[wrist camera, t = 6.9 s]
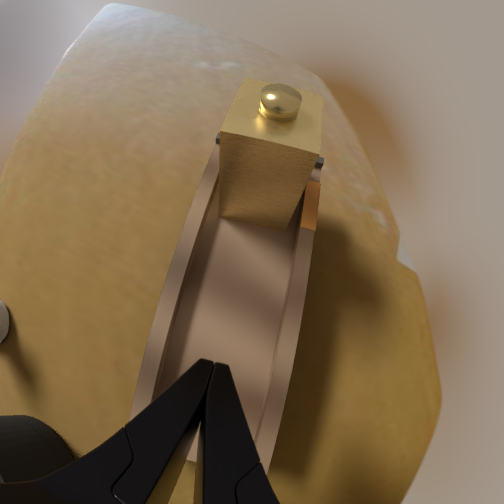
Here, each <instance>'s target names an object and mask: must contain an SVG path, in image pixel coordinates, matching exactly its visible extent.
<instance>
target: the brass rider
mask: <svg viewBox="0 0 504 504" xmlns="http://www.w3.org/2000/svg"><path fill="white" fill-rule="evenodd" d="M323 101H324V96H321V95H318V94H314V93H311V92H307V91H304V90H300V89H296V88H292V87H290V86H287V85H283V84H275V83H270V82H265V81H260V80H255V79H250V78H245V79H244V81H243V83H242V85H241V87H240V89H239V91H238V93H237V95H236V97H235V99H234V101H233V103H232V106H231V108H230V110H229V112H228V114H227V116H226V119H225V121H224V123H223V125H222V128H221V130H220V150H219V217H222V218H226V219H230V220H235V221H239V222H243V223H247V224H252V225H256V226H260V227H264V228H268V229H272V230H276V231H281V232H285V230H286V228H287V226H288V223H289V221H290V219H291V217H292V215H293V213H294V210H295V208H296V206H297V204H298V202H299V199H300V197H301V195H302V193H303V191H304V188H305V186H306V184H307V182H308V180H309V177H310V175H311V173H312V171H313V168H314V166H315V164H316V162H317V159H318V157H319V155H320V145H321V132H322V117H323Z"/></svg>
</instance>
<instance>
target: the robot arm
mask: <svg viewBox="0 0 504 504" xmlns="http://www.w3.org/2000/svg"><path fill="white" fill-rule="evenodd" d="M200 422H201V423H200ZM199 425H200V428H199ZM198 429H199V436H198V447H197V459H196V472H195V486H194V502H193V504H280V503H279V501H278V499H277V497H276V495H275V493H274V491H273V489H272V487H271V485H270V482H269V480H268V478H267V475H266V473H265V470H264V468H263V465H262V463H261V462H260V461H261V460H260V457H259V454H258V452H257V449H256V446H255V443H254V440H253V437H252V435H251V432H250V429H249V426H248V423H247V420H246V417H245V414H244V411H243V408H242V405H241V402H240V399H239V395H238V392H237V389H236V386H235V383H234V380H233V376H232V373H231V370H230V367H229V365H228V364H224V363H220V362H215V363H214V362H213V361H212V360H208V359H204V358H200V359H199V360H197V361H196V362H195V363H194V364H193V365H192V366H191V367H190V368H189V369H188V370H187V371H186V372H184V373H183V374H182V375H181V376H180V377H179V378H178V379H177V380H176V381H175V382H174V383H172V384H171V385H170V386H169V387H168V388H167V389H166V390H165V391H164V392H162V393H161V394H160V395H159V396H158V397H157V398H156V399H155V400H154V401H152V402H151V403H150V404H149V405H148V406H147V407H146V408H144V409H143V410H142V411H141V412H140V413H139V414H138V415H136V416H135V417H134V418H133V419H132V420H131V421H129V422H128V423H127V424H126V425H125V428H124V427H122V428H121V429H120V430H119V431H118V432H116V433H115V434H114V435H113V436H111V437H110V438H109V439H108V440H106V441H105V442H104V443H102V444H101V445H100V446H98V447H97V448H95V449H94V450H92V451H90V452H89V453H87V454H86V455H84V456H82V457H81V458H79V459H77V460H75V461H74V462H72V463H70V464H68V465H66V466H65V467H63V468H61V469H59V470H57V471H55V472H53V473H52V474H50V475H47V476H45V477H43V478H40V479H37V480H33V481H27V482H14V483H0V504H168V502H169V500H170V497H171V495H172V492H173V490H174V488H175V485H176V483H177V480H178V478H179V476H180V473H181V471H182V468H183V466H184V464H185V461H186V459H187V456H188V454H189V451H190V449H191V446H192V444H193V441H194V439H195V437H196V434H197V431H198Z"/></svg>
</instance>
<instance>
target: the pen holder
mask: <svg viewBox="0 0 504 504" xmlns="http://www.w3.org/2000/svg"><path fill="white" fill-rule="evenodd" d="M72 462H74V460H73V457H72V455H71V454H70V452H69V450H68V448H67V447H66V445H65V444H64V443H63V441H62V440H61V439H60V438H59V436H58V435H57V434H56V433H55V432H54V431H53V430H52V429H51V428H49V427H48V426H47V425H46V424H44V423H43V422H41V421H40V420H38V419H36V418H34V417H30V416H25V415H13V416H0V483H14V482H27V481H33V480H37V479H40V478H43V477H45V476H47V475H50V474H52V473H53V472H55V471H57V470H59V469H61V468H63V467H65V466H66V465H68V464H70V463H72Z"/></svg>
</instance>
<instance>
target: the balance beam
mask: <svg viewBox="0 0 504 504" xmlns="http://www.w3.org/2000/svg"><path fill="white" fill-rule="evenodd" d="M219 150H220V133H218V135H217V137H216V144H215V147H214V149H213V152H212V154H211V156H210V159H209V161H208V164H207V166H206V169H205V171H204V173H203V176H202V178H201V181H200V184H199V186H198V189H197V191H196V194H195V196H194V199H193V202H192V204H191V207H190V210H189V212H188V215H187V218H186V221H185V223H184V226H183V229H182V232H181V235H180V238H179V240H178V243H177V246H176V249H175V252H174V255H173V258H172V261H171V264H170V267H169V270H168V273H167V277H166V280H165V283H164V286H163V289H162V293H161V296H160V299H159V303H158V306H157V309H156V313H155V316H154V320H153V323H152V327H151V331H150V334H149V338H148V342H147V345H146V349H145V353H144V357H143V361H142V365H141V369H140V373H139V378H138V382H137V386H136V391H135V395H134V400H133V404H132V409H131V414H130V419H129V421H131V420H132V419H133V418H134V417H135V416H136V415H138V414H139V413H140V412H141V411H142V410H143V409H144V408H146V407H147V406H148V405H149V404H150V403H151V402H152V401H154V400H155V399H156V398H157V397H158V396H159V395H160V394H161V393H162V392H164V391H165V390H166V389H167V388H168V387H169V386H170V385H171V384H172V383H174V382H175V381H176V380H177V379H178V378H179V377H180V376H181V375H182V374H183V373H184V372H186V371H187V370H188V369H189V368H190V367H191V366H192V365H193V364H194V363H195V362H196V361H197V360H199V359H200V358H204V359H208V360H212V361H213V362H214V363H215V362H220V363H224V364H228V365H229V367H230V370H231V373H232V376H233V380H234V383H235V386H236V389H237V392H238V395H239V399H240V402H241V405H242V408H243V411H244V414H245V417H246V420H247V423H248V426H249V429H250V432H251V435H252V437H253V440H254V443H255V446H256V449H257V452H258V454H259V457H260V460H261V461H260V462H261V463H262V465H263V468H264V470H265V473H266V475H267V472H268V469H269V465H270V462H271V458H272V454H273V450H274V446H275V442H276V439H277V435H278V430H279V426H280V422H281V418H282V414H283V409H284V405H285V401H286V396H287V392H288V387H289V382H290V377H291V373H292V368H293V363H294V358H295V353H296V347H297V342H298V337H299V331H300V325H301V320H302V314H303V308H304V302H305V296H306V289H307V283H308V276H309V269H310V262H311V255H312V248H313V240H314V233H315V231H316V223H317V214H318V205H319V195H320V185H321V184H320V176H321V168H322V166H323V164H324V158H322V157H318V159H317V162H316V164H315V166H314V168H313V171H312V173H311V175H310V177H309V180H308V182H307V184H306V186H305V188H304V191H303V193H302V195H301V197H300V199H299V202H298V204H297V206H296V208H295V210H294V213H293V215H292V217H291V219H290V221H289V223H288V226H287V228H286V230H285V232H281V231H276V230H272V229H268V228H264V227H260V226H256V225H252V224H247V223H243V222H239V221H235V220H230V219H226V218H222V217H219ZM200 423H201V422H200ZM199 428H200V425H199ZM198 436H199V429H198V431H197V434H196V437H195V439H194V441H193V444H192V446H191V449H190V451H189V454H188V456H187V459H186V460H190V461H194V462H196V459H197V447H198Z"/></svg>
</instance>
